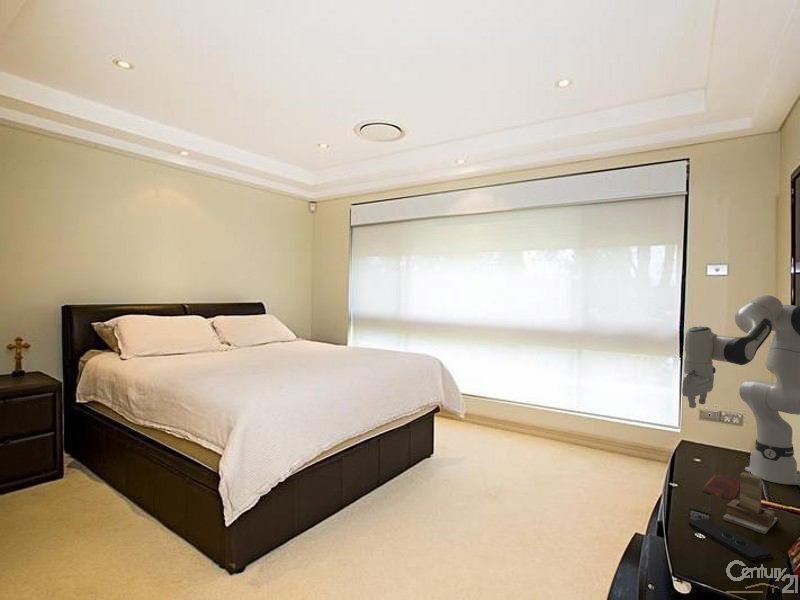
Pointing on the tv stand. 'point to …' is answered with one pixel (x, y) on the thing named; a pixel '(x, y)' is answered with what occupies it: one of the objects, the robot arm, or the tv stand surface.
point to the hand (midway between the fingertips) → (697, 405)
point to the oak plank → (750, 492)
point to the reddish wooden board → (722, 486)
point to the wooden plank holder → (750, 517)
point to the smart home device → (729, 539)
